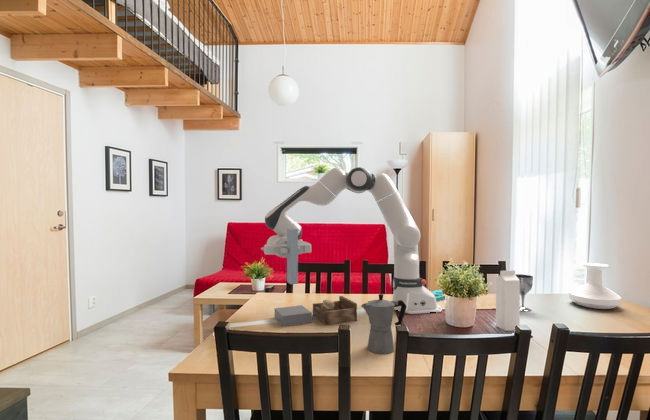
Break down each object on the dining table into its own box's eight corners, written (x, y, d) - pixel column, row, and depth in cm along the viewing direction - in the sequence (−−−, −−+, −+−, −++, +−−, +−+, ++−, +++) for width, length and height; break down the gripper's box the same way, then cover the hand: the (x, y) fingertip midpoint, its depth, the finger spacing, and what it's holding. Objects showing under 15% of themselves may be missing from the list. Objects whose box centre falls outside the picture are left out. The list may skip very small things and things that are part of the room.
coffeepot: (365, 356, 117) (365, 298, 117) (357, 345, 126) (357, 291, 126) (412, 352, 120) (412, 296, 120) (400, 341, 129) (400, 289, 129)
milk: (519, 330, 141) (520, 271, 140) (504, 331, 140) (505, 272, 140) (509, 325, 147) (510, 269, 146) (495, 325, 146) (495, 269, 146)
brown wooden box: (341, 311, 166) (341, 295, 166) (356, 320, 153) (356, 303, 153) (312, 315, 160) (312, 299, 160) (325, 325, 147) (325, 307, 147)
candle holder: (612, 314, 161) (613, 269, 160) (561, 304, 177) (561, 263, 176) (628, 307, 172) (628, 265, 172) (578, 298, 189) (578, 260, 188)
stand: (301, 314, 162) (301, 305, 162) (311, 322, 151) (311, 312, 151) (274, 317, 157) (274, 308, 157) (282, 326, 146) (282, 316, 146)
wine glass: (509, 308, 171) (509, 275, 171) (520, 305, 175) (520, 273, 174) (525, 312, 164) (525, 278, 164) (536, 310, 167) (537, 276, 167)
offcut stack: (327, 315, 160) (327, 298, 160) (335, 321, 152) (335, 303, 152) (321, 316, 159) (320, 299, 158) (328, 322, 151) (328, 303, 151)
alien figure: (474, 304, 180) (463, 294, 199) (474, 299, 179) (463, 290, 199) (431, 303, 182) (424, 293, 201) (431, 298, 181) (424, 289, 201)
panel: (293, 281, 156) (294, 228, 156) (297, 283, 152) (297, 229, 152) (287, 281, 155) (287, 228, 155) (290, 284, 151) (290, 229, 150)
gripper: (259, 240, 161) (268, 244, 148) (304, 239, 169) (316, 242, 156) (259, 255, 161) (268, 260, 149) (304, 253, 169) (316, 257, 157)
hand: (293, 250), depth 153 cm, fingers closed on panel, 3 cm apart
